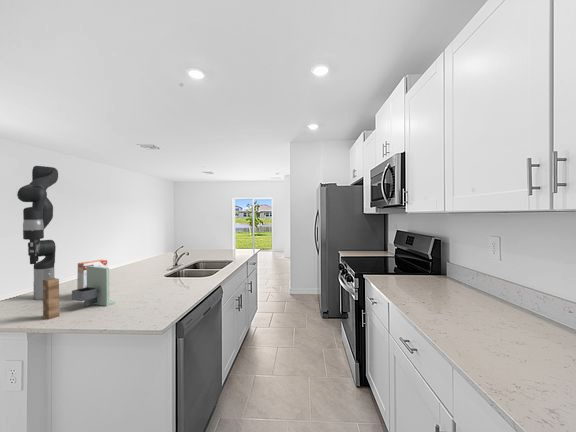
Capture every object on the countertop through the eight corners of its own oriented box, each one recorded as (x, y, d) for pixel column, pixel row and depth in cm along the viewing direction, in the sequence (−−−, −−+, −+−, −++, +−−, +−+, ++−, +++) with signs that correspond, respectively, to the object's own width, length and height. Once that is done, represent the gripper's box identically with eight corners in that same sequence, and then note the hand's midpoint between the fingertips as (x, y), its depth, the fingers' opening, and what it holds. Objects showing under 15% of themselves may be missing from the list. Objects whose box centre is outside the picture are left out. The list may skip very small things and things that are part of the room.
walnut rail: (43, 318, 137) (42, 279, 137) (53, 314, 141) (53, 277, 141) (48, 319, 136) (48, 280, 135) (59, 316, 140) (58, 278, 139)
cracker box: (83, 301, 163) (83, 263, 163) (76, 299, 165) (76, 262, 165) (107, 294, 176) (107, 259, 175) (101, 293, 178) (101, 259, 178)
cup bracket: (67, 308, 151) (66, 269, 151) (95, 299, 165) (95, 264, 165) (87, 312, 145) (87, 272, 145) (115, 303, 159) (115, 266, 159)
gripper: (25, 228, 144) (26, 261, 144) (20, 230, 132) (21, 265, 133) (45, 228, 148) (46, 260, 149) (41, 229, 137) (42, 264, 137)
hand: (34, 262), depth 141 cm, fingers open, 8 cm apart
